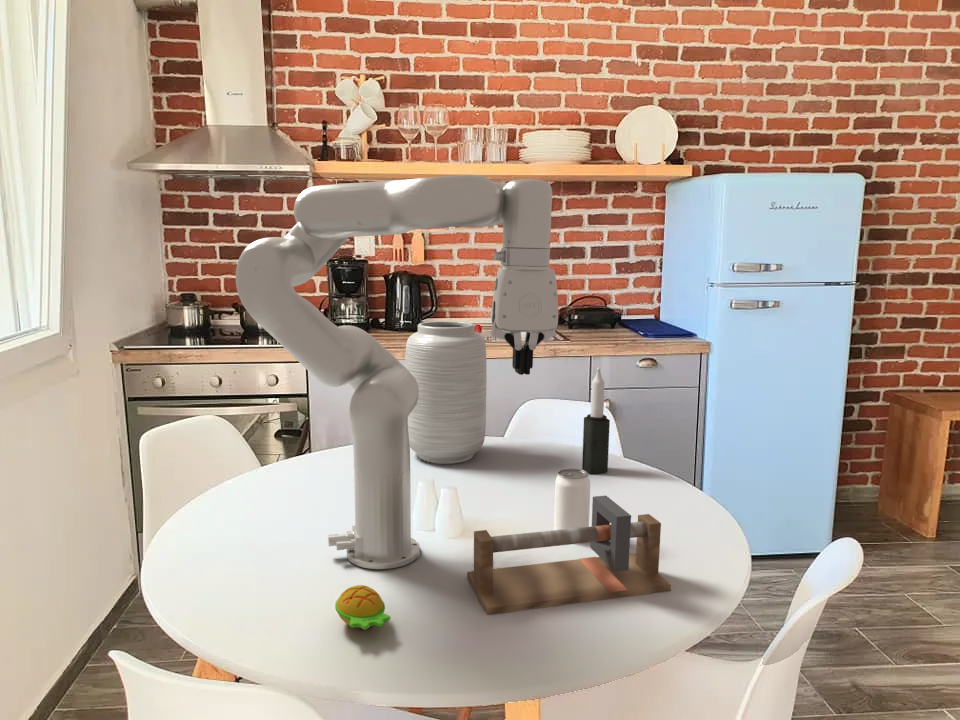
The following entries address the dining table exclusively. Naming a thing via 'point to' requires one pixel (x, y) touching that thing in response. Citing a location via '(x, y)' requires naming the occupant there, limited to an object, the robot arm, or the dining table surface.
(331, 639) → the dining table surface
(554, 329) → the robot arm
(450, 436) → the vase
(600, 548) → the collar
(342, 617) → the toy pineapple
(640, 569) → the rail
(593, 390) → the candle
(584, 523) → the can
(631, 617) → the dining table surface
